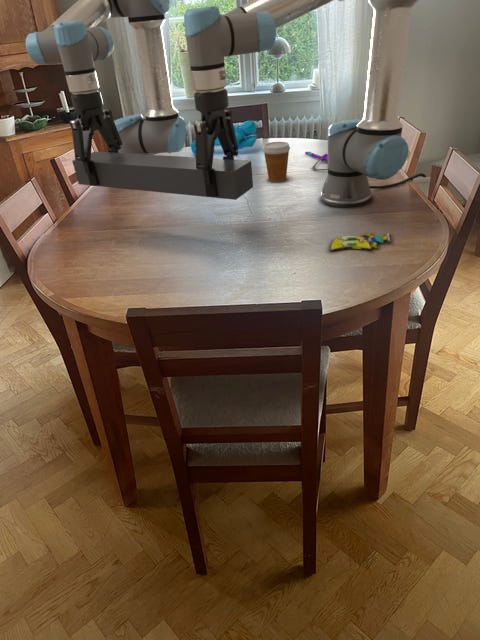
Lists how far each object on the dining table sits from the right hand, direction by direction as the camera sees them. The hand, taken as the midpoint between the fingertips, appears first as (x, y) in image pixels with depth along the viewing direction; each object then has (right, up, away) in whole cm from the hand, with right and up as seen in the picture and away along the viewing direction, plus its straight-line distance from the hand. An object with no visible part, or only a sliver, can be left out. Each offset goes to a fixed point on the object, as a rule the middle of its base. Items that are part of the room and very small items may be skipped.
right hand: (221, 189), depth 119 cm
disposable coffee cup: (+18, +18, +54) cm, 59 cm away
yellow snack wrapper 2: (+35, -13, +4) cm, 37 cm away
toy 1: (-2, +41, +93) cm, 101 cm away
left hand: (-33, +7, +16) cm, 38 cm away
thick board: (-17, +3, +9) cm, 19 cm away
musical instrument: (+36, +28, +67) cm, 81 cm away
